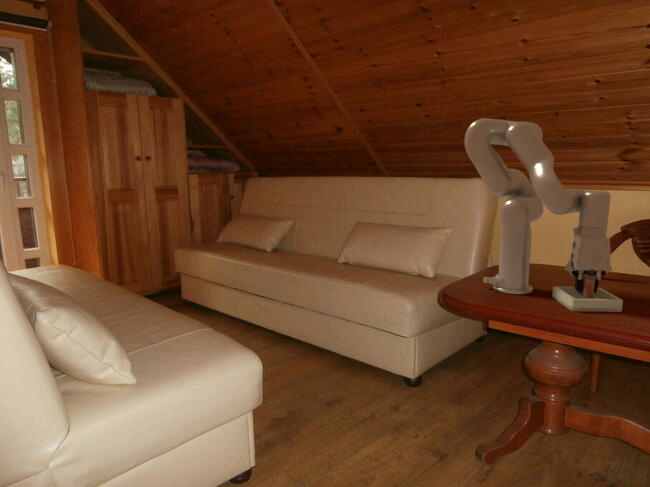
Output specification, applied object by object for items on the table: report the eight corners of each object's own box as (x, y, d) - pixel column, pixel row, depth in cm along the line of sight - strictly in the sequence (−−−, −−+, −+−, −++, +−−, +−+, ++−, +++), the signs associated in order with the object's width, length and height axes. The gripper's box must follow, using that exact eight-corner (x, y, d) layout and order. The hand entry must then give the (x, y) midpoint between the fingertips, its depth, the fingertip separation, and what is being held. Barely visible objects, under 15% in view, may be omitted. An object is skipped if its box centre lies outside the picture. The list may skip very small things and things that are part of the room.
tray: (571, 311, 136) (573, 299, 135) (552, 296, 149) (553, 286, 149) (621, 311, 135) (623, 300, 134) (597, 297, 148) (598, 286, 148)
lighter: (596, 300, 137) (599, 268, 136) (583, 300, 138) (587, 267, 136) (586, 293, 145) (589, 262, 143) (574, 292, 146) (577, 261, 144)
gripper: (568, 234, 135) (563, 294, 138) (628, 234, 134) (620, 295, 137) (558, 230, 142) (552, 287, 146) (614, 230, 141) (607, 288, 144)
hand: (585, 290), depth 141 cm, fingers closed on lighter, 3 cm apart
